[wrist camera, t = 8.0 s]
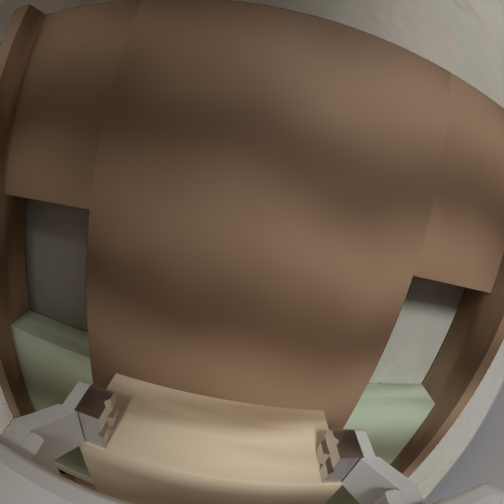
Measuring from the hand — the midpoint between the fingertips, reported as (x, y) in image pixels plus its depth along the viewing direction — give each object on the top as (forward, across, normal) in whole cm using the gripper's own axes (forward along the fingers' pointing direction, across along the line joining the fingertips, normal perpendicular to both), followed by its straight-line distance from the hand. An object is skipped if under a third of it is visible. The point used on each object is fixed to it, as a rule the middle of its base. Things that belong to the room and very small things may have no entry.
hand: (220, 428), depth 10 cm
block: (+3, 0, +4) cm, 5 cm away
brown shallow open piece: (+5, 0, -4) cm, 6 cm away
